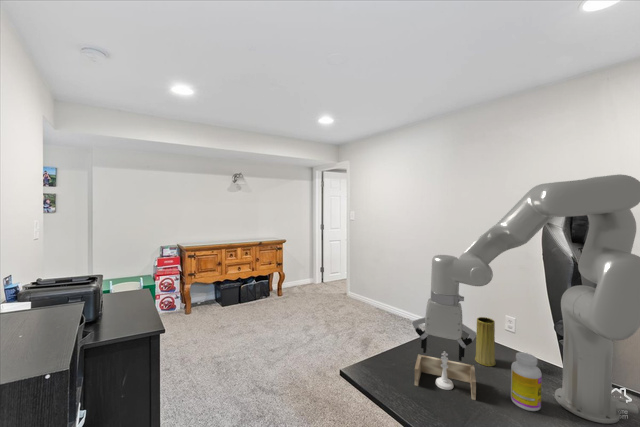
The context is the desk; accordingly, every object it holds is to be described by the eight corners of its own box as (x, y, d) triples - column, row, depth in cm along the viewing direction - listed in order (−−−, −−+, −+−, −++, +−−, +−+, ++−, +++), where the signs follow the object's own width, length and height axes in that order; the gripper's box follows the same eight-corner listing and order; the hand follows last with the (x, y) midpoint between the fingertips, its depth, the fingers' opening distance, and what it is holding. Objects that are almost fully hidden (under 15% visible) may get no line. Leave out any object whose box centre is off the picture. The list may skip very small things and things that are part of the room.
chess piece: (455, 390, 84) (455, 356, 84) (437, 388, 85) (437, 355, 85) (451, 380, 89) (451, 348, 89) (434, 378, 90) (434, 346, 90)
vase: (495, 360, 100) (496, 318, 100) (495, 368, 95) (496, 325, 94) (475, 355, 103) (476, 315, 103) (474, 363, 98) (474, 321, 98)
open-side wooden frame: (473, 381, 88) (474, 365, 88) (475, 400, 80) (475, 382, 80) (418, 369, 95) (418, 354, 95) (414, 385, 87) (414, 368, 87)
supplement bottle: (542, 416, 74) (543, 366, 74) (511, 406, 78) (511, 358, 77) (539, 400, 80) (540, 354, 79) (510, 392, 83) (511, 348, 83)
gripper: (476, 298, 86) (474, 355, 87) (415, 290, 93) (413, 342, 94) (478, 307, 79) (475, 368, 80) (411, 296, 86) (409, 353, 87)
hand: (442, 354), depth 87 cm, fingers open, 9 cm apart
